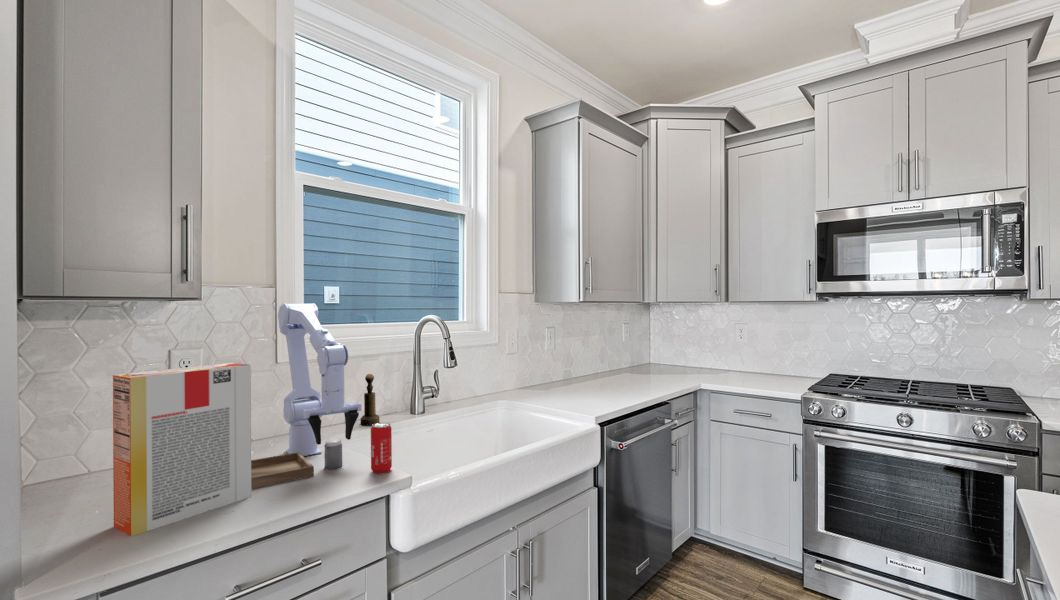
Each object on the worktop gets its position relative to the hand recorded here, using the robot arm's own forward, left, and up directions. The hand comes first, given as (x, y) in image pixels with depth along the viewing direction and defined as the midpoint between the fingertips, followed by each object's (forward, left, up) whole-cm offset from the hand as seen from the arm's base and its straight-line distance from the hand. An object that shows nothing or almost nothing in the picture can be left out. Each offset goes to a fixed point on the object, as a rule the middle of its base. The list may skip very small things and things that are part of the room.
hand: (333, 441), depth 136 cm
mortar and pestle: (-43, +25, -7) cm, 50 cm away
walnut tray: (-4, -14, -7) cm, 16 cm away
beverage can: (+11, +9, -7) cm, 16 cm away
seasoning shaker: (0, 0, -7) cm, 7 cm away
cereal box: (+10, -33, -7) cm, 35 cm away
